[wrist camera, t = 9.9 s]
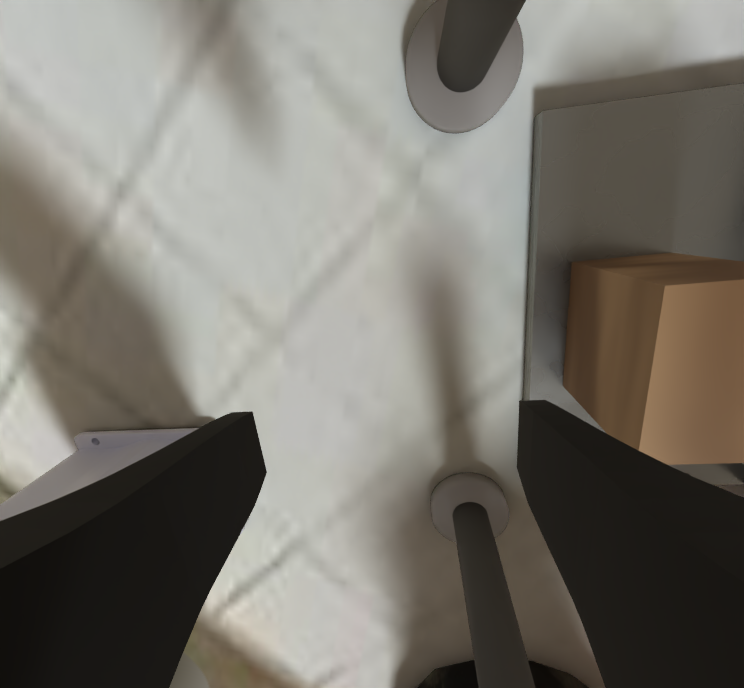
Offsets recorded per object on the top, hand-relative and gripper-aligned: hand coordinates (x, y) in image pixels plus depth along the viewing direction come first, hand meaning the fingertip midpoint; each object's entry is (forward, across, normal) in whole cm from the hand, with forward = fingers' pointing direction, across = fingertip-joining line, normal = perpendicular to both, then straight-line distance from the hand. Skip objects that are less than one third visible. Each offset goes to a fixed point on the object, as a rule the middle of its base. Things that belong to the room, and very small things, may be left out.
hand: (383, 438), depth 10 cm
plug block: (+8, -10, 0) cm, 13 cm away
